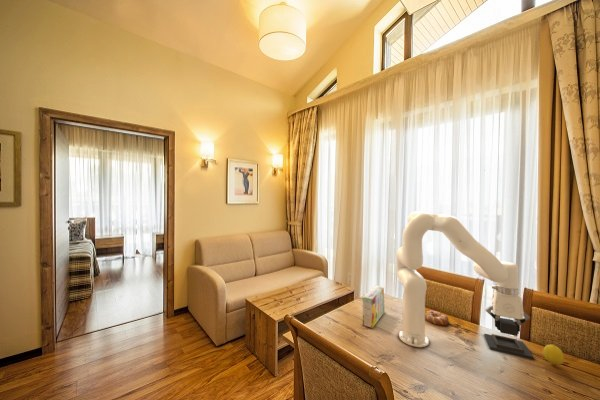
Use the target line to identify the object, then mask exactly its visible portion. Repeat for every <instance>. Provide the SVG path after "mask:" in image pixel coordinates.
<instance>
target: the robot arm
mask: <svg viewBox="0 0 600 400" xmlns="http://www.w3.org/2000/svg"><path fill="white" fill-rule="evenodd" d="M407 222H408V223H407V224H406V225H405V227H404V229H403V231H402V236H401V237H402V239H401V246H400V247H399V248H398V249H397V251H396V255H395V256H396V258H395V259H396V277H397V279H398V281H399V282H400V284H401V285H402V286H403V291H402V297H401V298H402V299H401V301H402V303H401V305H402V319H401V320H402V321H401V323H402V328H401V329H402V330H400V331H399V333H398V337H399V339H400V340H401V342H403V343H404V344H406V345H408V346H410V347H415V348H426V347H428V346H429V344H430V340H429V338H428V337H427V336H426V318H425V313H426V295H427V285H428V284H427V281H426V280H425V277H424V276H423V275H422V274H421V273H420V272H418V270H419V269H421V267H423V264H424V256H423V255H424V254H423V253H424V252H423V238H424V235H425V234H426V233H427V232H428V231H434V232H439V233H442V234H443V235H444V236H445V237H446V238H447V240H448V241H449V242H450V243H451V244H452V245H453V246H454V247H455V249H456V250H457V251H458V252H459V253H461V255H464V256H465V257H467V258H469V259H470V260H472V261H473V262H474V263H473V267H472V268H473V270H474V272H475V273H476V274H477V275H479V276H481V277H483V278H485V279H487V280H489V281H491V282H493V283H495V284H494V285H491V289H493V290H494V291H493V294H492V298H491V299H492V300H491V304H490V305H489V306H488V307H486V308H485V312H486V313H487V314H489V316H491V318H493V319H494V327H495V328H496V329H497V331H500V321H499V318H501V317H502V318H507V319H514V322H515V323H516V325H517V335H519V333H520V332H521V325H522V324H524V323H526V322H527V321H529V320H531V316H529V315H528V314H527V313H526V312H525V311H524V304H523V299H522V296H521V295H520V293H519V267H518V265H517V264H516V263H514V262H512V261H504V260H499V259H498V257H497V256H495V255H494V254H493V253H492V252H491V251H490V250H489V249H487V248H486V247H485V246H484V245H482V244H481V243H480V242H479V241H477V240H476V239H475V238H474V236H473V235H472V234H471V233H470V232H469V231H468V229H467V228H466V227H465V226H464V225H463V224H462V223H461V222H460V220H459V219H458V218H457V217H455V216H453V215H448V214H437V213H430V212H426V211H413V212H411V213H410V214H409V215H408V217H407Z"/></svg>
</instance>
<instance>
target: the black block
mask: <svg viewBox="0 0 600 400" xmlns="http://www.w3.org/2000/svg"><path fill="white" fill-rule="evenodd" d="M499 321H500V330H499V332H500V333H501V334H504V335H510V336H515V337H518V334H517V325H516V323H515V320H513V319H511V318H506V317H500V318H499Z"/></svg>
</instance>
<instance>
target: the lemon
mask: <svg viewBox="0 0 600 400" xmlns="http://www.w3.org/2000/svg"><path fill="white" fill-rule="evenodd" d="M542 352H543V357H544V358H545V360H546V361H547V362H549V363H550V364H551V365H552V366H561V365H562V364H563V363H564V362H565V355H564V353H563V351H562V349H560V347H558V346H557V345H555V344H546V345H545V346H544V348H543V350H542Z"/></svg>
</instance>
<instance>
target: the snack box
mask: <svg viewBox="0 0 600 400" xmlns="http://www.w3.org/2000/svg"><path fill="white" fill-rule="evenodd" d="M385 313H386V311H385V287H384V286H383V285H382V286H381V285H377V284H376V285H374V286H373V287H372V288H370V290H368V292H366V293H365V294H364V295H363V296H362V326H363V327H367V328H371V329H373V328H374V327H375V326H376V324H377V323H378V321H379V320H380V319H381V317H382V316H383V315H384V314H385Z"/></svg>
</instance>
